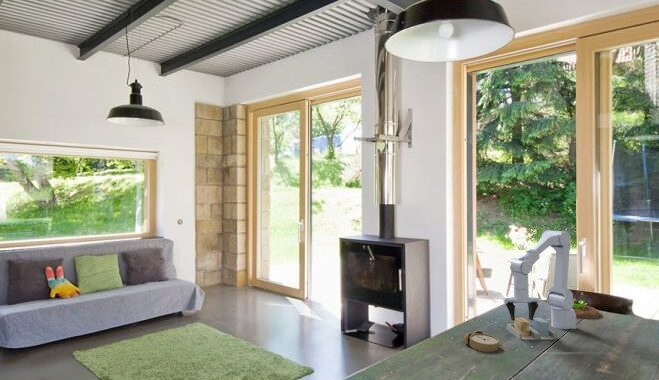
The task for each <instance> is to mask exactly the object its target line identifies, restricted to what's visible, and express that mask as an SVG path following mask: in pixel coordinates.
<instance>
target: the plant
mask: <svg viewBox="0 0 659 380" xmlns="http://www.w3.org/2000/svg"><path fill="white" fill-rule="evenodd" d="M578 294H579V295H580V296H584V292H582V291H577V292H576V293H575V295H574V297H573V301H574V304H573V307H572V308H571V309H573V310H574V311H575V314H576V319H594V320H595V319H597V318H599V317H600V311H599V309H596V308H595V307H593V306H588V303H587V302H586V303H585V302H584V301H583V300H578Z"/></svg>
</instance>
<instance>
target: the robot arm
mask: <svg viewBox="0 0 659 380" xmlns="http://www.w3.org/2000/svg"><path fill="white" fill-rule="evenodd" d="M571 243H572V236H571V235H570V233H569V232H568V231H565V230H563V231H561V230H559V231H558V230H550V229H547V230H545V231H544V232H543V233H542V234H541V239H540V240H538V242H537V243H536V244H535V245H534V247H532V248H528V249H526V250H525V252H524V253H523V254H521V256H519V258H518V259H513V260H512V261H511V263H510V266H509V269H510V271H511V275H512V277H513V296H512V297H511V296H510V297H503V304H505V306H506V308H507V310H508V312H509V316H510V320H511V321H512V322H514V321H515V318H516V317H515V315H516V314H515V313H516V312H515V311H516V305H514V304H527V305H528V320H530V321H532V322H533V318H535V313H536V311H537V309H538V307H539V304H540V302H541V301H540V300H541V299H540V298H539V297H531V296H530V297H529V274H530V273H531V272H532V268H533V265H534V264H535V263H536V262H537V261H538V260H540V254H541V253H543V252H545V250H546V249H548V248H549V247H551V248H552V249H553V250H554V251H555V262H554V263H555V264H554V278H553V285H552V286H551V287H550V288H549V289H548V293H547V294H546V303H547V305H549V308H550V315H551V317H550V320H551V328H554V329H559V330H571V329H573V330H576V329H577V318H576V314H575V311H574V310H573V309H571V308H572V307H573V304H574V301H573V298H574V296H573V295H574V294H573V292H572V291H571V290H570V289H569V288H568V277H569V265H570V251H571Z"/></svg>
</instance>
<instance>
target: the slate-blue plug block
mask: <svg viewBox="0 0 659 380" xmlns="http://www.w3.org/2000/svg"><path fill="white" fill-rule="evenodd" d="M532 324H533V329H535V330H536V331H538V332H539V333H541V337H549V329H550V328H549V321H547V320H545V319H543V318H542V317H533V321H532Z"/></svg>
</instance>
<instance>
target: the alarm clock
mask: <svg viewBox="0 0 659 380" xmlns="http://www.w3.org/2000/svg"><path fill="white" fill-rule="evenodd" d="M462 339H463V341H464V343H465V344H466V345H469V346H470V347H471V348H473V349H474V350H476V351H480V352H484V353H485V352H486V353H490V352H497V351H498V350H499V349H500V347H503V345H502V344H500V340H499V338H498V337H496V336H494V335H491V334H488V333H484V332H483V331H481V330H476V331H474V332H473V333H472V332H466V333H464V334H463V337H462Z"/></svg>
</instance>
